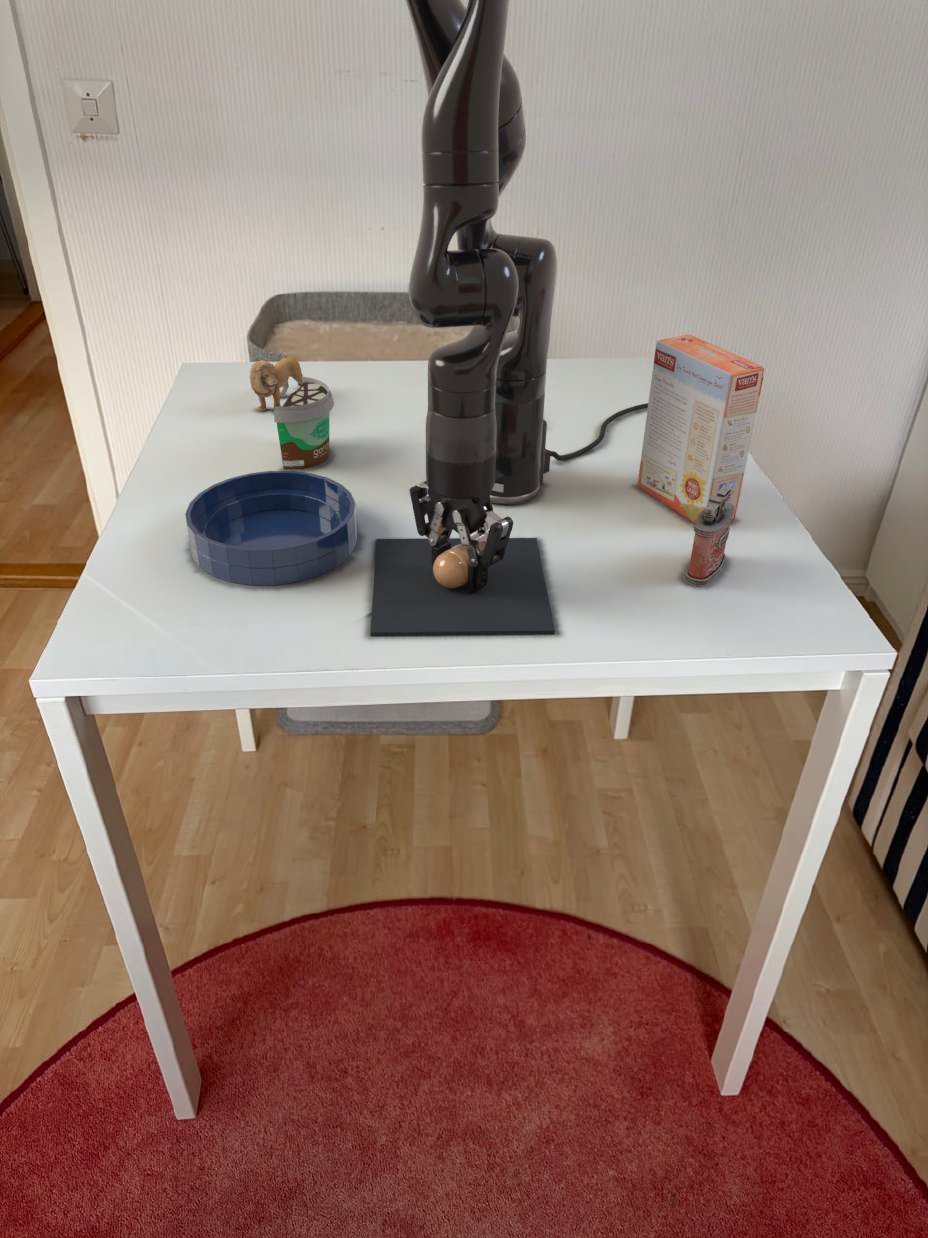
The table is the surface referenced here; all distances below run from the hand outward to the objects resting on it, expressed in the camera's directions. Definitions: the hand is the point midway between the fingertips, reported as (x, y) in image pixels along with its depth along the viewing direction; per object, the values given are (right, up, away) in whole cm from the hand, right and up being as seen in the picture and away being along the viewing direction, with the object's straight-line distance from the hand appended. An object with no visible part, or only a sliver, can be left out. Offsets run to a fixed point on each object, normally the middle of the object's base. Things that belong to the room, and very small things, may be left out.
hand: (458, 579), depth 113 cm
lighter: (+30, +1, +4) cm, 30 cm away
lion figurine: (-29, +30, +44) cm, 60 cm away
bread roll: (0, 0, 0) cm, 0 cm away
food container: (-21, +18, +28) cm, 39 cm away
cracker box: (+30, +11, +18) cm, 37 cm away
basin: (-23, +5, +8) cm, 25 cm away
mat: (0, -1, +1) cm, 1 cm away
